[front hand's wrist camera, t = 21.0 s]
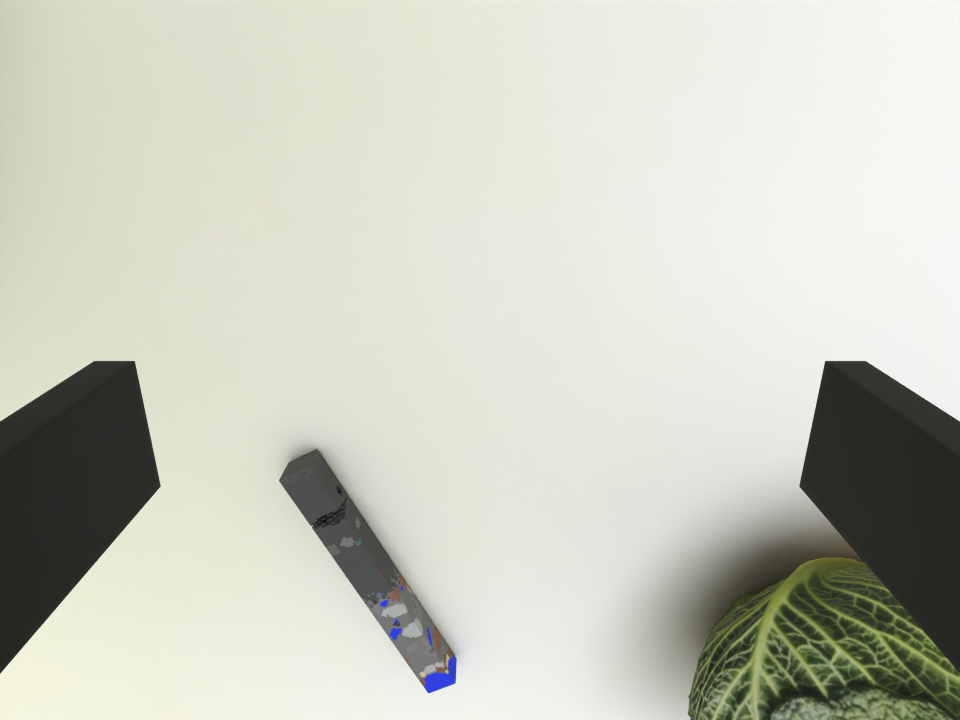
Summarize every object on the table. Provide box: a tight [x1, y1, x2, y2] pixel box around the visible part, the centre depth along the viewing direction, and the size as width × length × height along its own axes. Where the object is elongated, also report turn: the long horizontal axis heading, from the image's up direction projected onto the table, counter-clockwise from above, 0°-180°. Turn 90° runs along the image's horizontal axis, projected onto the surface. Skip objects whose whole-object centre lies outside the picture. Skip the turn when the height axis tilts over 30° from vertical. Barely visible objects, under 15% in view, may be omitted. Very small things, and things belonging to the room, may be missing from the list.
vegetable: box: [688, 557, 960, 720], centre depth 38 cm, size 20×19×20 cm
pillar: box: [279, 450, 456, 693], centre depth 44 cm, size 2×2×20 cm
